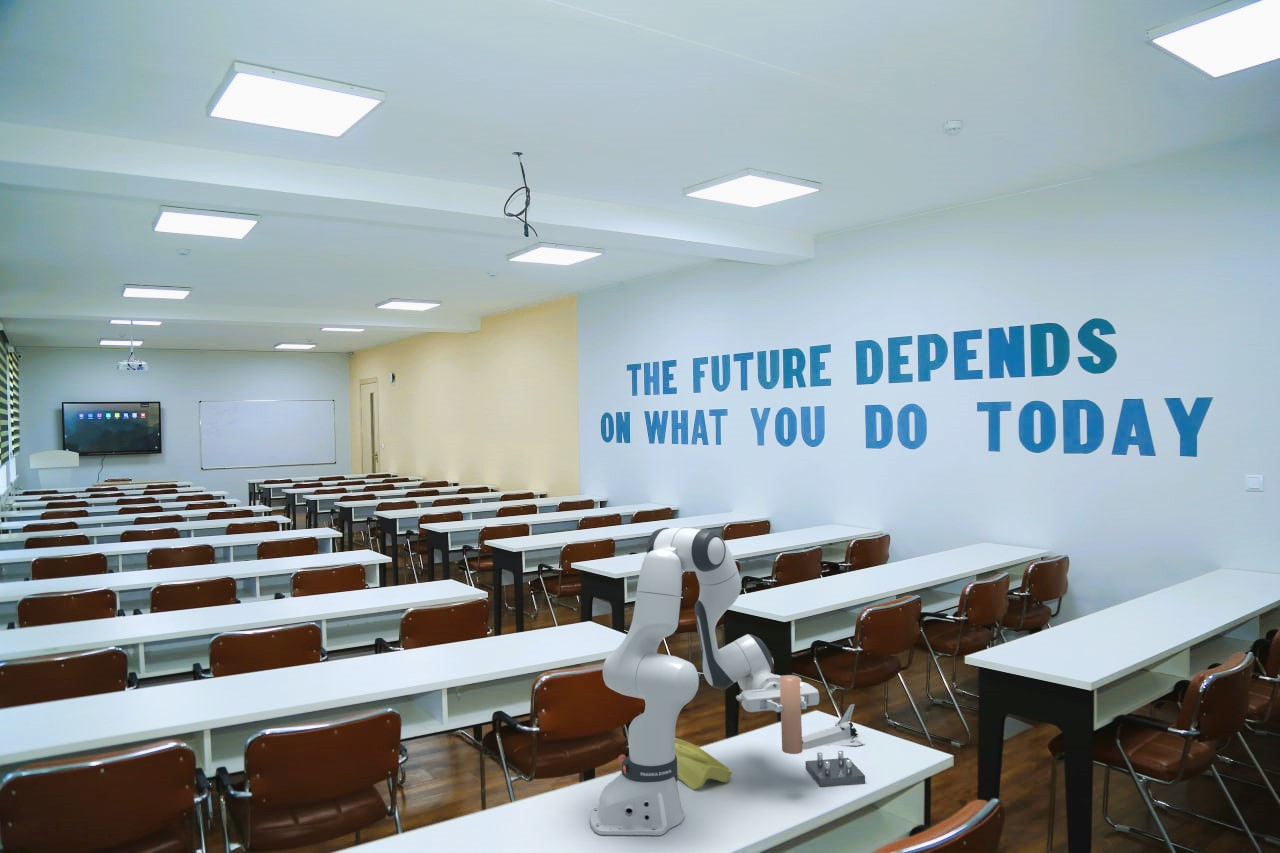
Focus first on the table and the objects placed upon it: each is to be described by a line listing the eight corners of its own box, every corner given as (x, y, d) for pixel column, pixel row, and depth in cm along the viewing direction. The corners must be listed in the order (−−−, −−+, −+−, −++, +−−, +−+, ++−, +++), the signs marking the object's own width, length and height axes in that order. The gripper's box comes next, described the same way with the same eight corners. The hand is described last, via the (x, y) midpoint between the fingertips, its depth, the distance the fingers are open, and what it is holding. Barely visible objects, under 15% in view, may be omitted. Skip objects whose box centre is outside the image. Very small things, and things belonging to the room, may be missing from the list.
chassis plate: (820, 787, 204) (819, 767, 204) (805, 768, 215) (804, 749, 216) (865, 783, 205) (864, 763, 205) (848, 765, 217) (847, 746, 217)
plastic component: (735, 773, 209) (707, 764, 204) (725, 801, 207) (696, 792, 203) (695, 744, 226) (668, 735, 222) (685, 769, 225) (657, 761, 220)
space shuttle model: (772, 744, 236) (771, 710, 236) (839, 729, 246) (838, 696, 247) (805, 761, 222) (803, 725, 222) (874, 745, 232) (872, 710, 233)
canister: (785, 754, 196) (782, 681, 197) (779, 747, 201) (777, 675, 202) (805, 753, 197) (802, 680, 197) (798, 745, 202) (796, 674, 202)
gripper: (733, 683, 209) (752, 699, 196) (804, 676, 214) (828, 690, 201) (733, 707, 209) (753, 724, 196) (805, 700, 214) (829, 716, 201)
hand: (792, 707), depth 198 cm, fingers closed on canister, 5 cm apart
